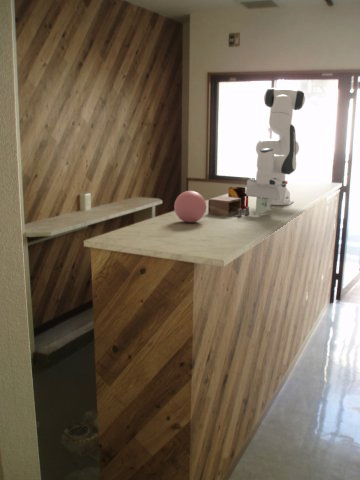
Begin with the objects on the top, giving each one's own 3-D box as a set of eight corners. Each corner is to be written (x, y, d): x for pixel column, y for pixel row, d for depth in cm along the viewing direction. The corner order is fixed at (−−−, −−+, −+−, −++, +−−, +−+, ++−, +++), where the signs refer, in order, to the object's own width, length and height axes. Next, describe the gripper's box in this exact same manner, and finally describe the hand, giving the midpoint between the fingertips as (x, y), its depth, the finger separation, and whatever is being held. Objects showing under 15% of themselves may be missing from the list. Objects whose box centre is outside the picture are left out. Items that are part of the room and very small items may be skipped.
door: (266, 209, 265) (266, 196, 263) (271, 210, 263) (272, 197, 261) (255, 212, 255) (256, 199, 254) (261, 213, 254) (261, 199, 252)
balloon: (215, 220, 245) (216, 189, 241) (196, 226, 228) (196, 193, 225) (188, 217, 252) (189, 187, 249) (168, 223, 236) (168, 191, 232)
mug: (247, 211, 272) (248, 190, 269) (224, 209, 279) (225, 188, 276) (254, 209, 280) (255, 188, 277) (232, 207, 287) (233, 186, 284)
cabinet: (221, 210, 274) (222, 196, 272) (250, 213, 264) (251, 199, 262) (208, 213, 263) (208, 199, 261) (237, 217, 252) (238, 202, 251)
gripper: (244, 179, 259) (243, 204, 262) (279, 182, 247) (278, 209, 250) (250, 177, 264) (248, 203, 267) (285, 181, 252) (283, 207, 255)
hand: (263, 206), depth 259 cm, fingers closed on door, 2 cm apart
